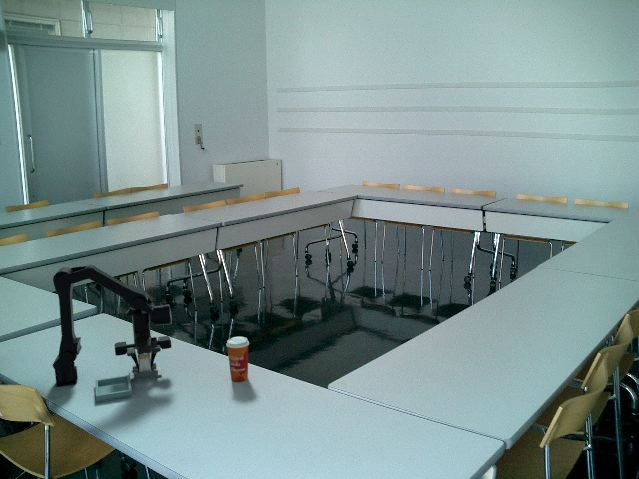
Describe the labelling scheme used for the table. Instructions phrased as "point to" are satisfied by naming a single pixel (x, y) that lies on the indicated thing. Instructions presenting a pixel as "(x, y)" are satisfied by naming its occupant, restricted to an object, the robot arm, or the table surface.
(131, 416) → the table surface
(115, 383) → the tray
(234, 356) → the paper cup
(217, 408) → the table surface
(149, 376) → the clip rails
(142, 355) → the cylinder
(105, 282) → the robot arm
